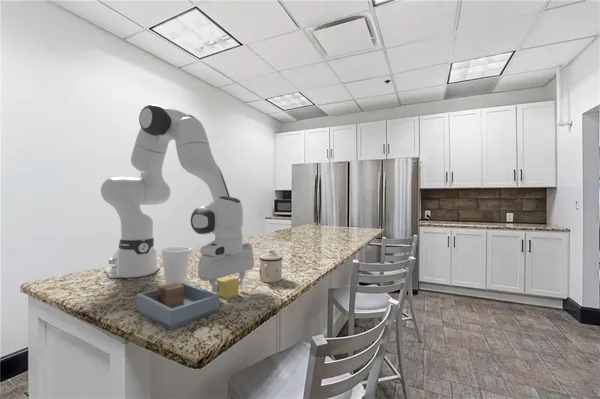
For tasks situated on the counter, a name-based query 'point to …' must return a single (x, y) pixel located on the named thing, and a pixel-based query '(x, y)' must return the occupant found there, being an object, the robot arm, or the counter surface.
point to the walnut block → (171, 294)
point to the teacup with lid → (270, 267)
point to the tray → (179, 306)
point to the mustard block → (228, 287)
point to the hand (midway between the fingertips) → (227, 288)
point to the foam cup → (176, 264)
